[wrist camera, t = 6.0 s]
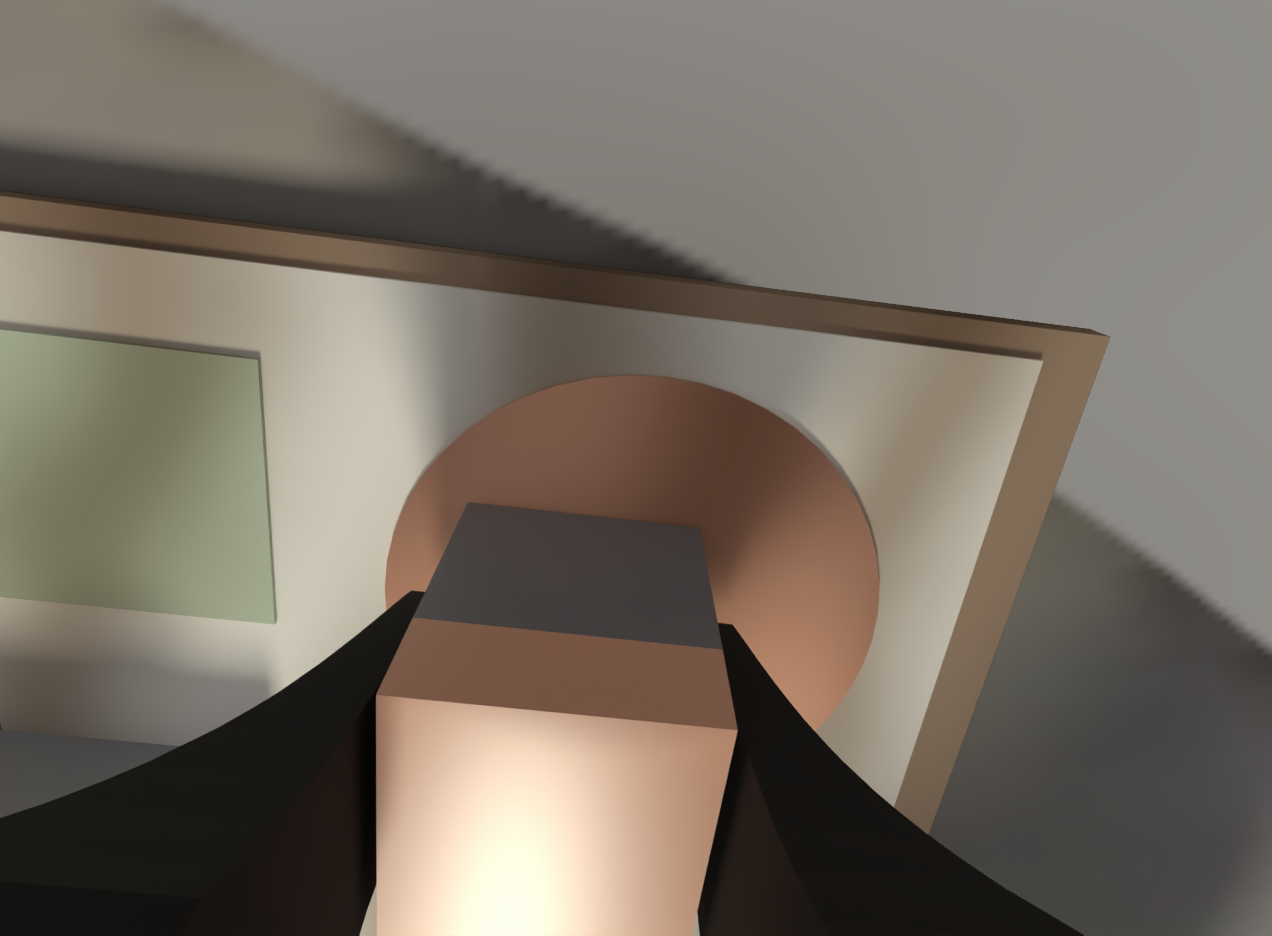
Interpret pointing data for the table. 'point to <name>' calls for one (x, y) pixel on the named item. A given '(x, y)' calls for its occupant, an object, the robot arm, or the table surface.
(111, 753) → the button housing
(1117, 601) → the table surface
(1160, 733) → the table surface
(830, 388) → the colouring board
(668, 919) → the salmon block
